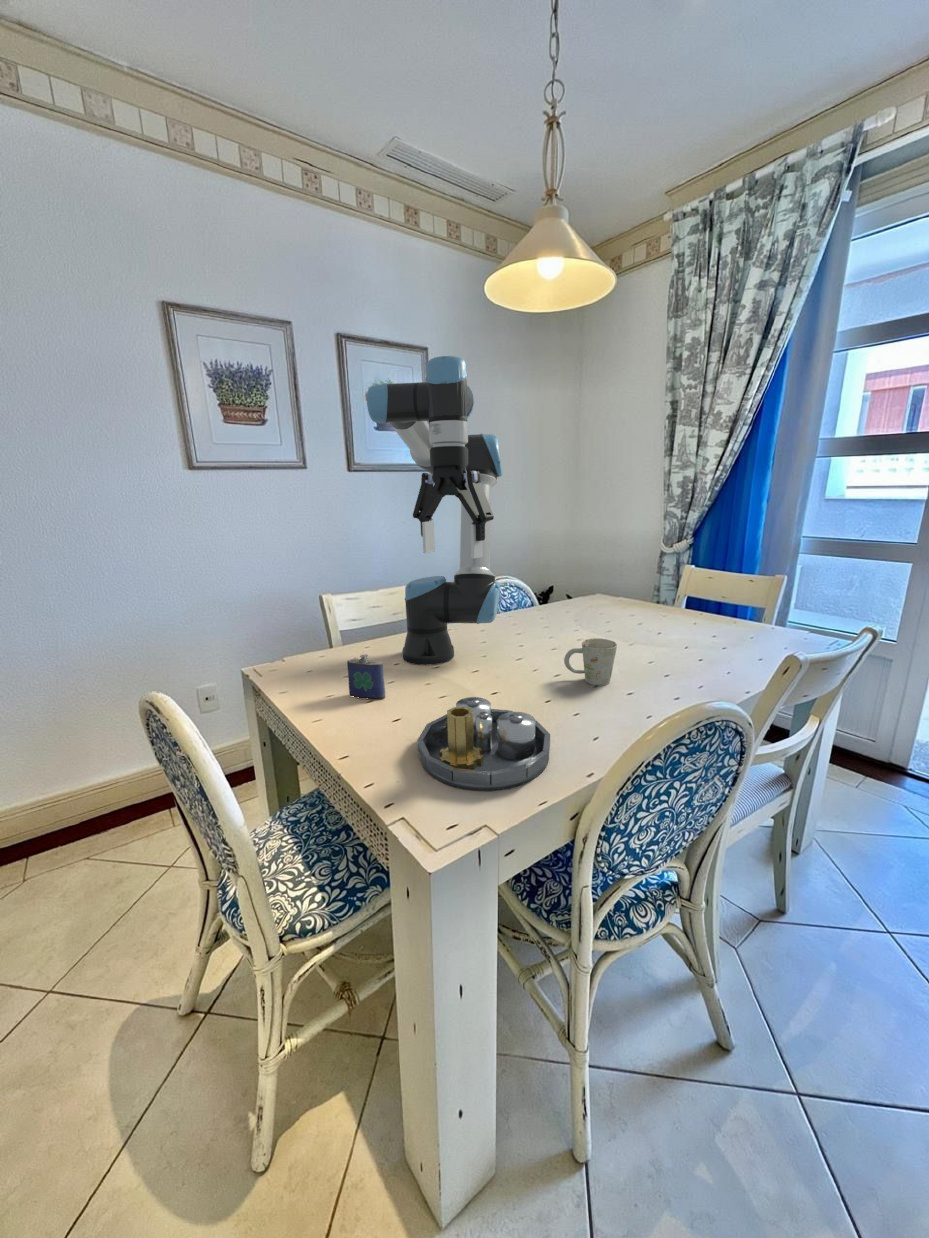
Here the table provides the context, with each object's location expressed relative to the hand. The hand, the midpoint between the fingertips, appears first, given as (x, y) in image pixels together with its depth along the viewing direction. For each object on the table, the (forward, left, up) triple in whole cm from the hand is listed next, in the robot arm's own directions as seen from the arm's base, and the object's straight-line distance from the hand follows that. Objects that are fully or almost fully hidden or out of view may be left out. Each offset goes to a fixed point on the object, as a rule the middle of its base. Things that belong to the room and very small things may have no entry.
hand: (452, 555), depth 101 cm
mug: (+15, +33, -35) cm, 50 cm away
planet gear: (+17, -17, -33) cm, 41 cm away
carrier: (+17, -11, -35) cm, 40 cm away
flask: (-21, -9, -35) cm, 42 cm away
